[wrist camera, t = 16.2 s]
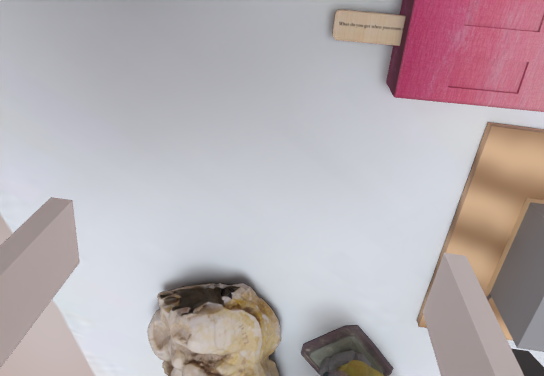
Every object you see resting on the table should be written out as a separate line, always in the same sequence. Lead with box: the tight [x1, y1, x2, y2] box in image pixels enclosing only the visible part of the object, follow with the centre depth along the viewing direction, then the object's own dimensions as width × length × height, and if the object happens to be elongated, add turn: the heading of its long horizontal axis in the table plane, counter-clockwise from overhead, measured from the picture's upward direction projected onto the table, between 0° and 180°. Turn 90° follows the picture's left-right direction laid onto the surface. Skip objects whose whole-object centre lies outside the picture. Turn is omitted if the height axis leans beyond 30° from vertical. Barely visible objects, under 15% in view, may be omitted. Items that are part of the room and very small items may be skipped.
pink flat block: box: [333, 0, 544, 112], centre depth 35 cm, size 9×5×20 cm
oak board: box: [417, 122, 544, 340], centre depth 45 cm, size 24×14×1 cm, turn 174°
